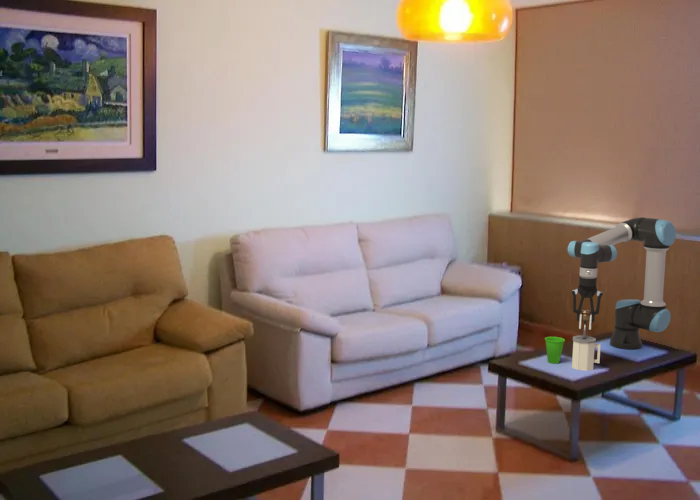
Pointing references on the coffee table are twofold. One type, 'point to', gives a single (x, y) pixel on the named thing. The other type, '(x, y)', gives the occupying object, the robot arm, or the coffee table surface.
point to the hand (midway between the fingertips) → (584, 328)
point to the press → (584, 353)
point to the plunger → (585, 319)
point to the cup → (554, 349)
